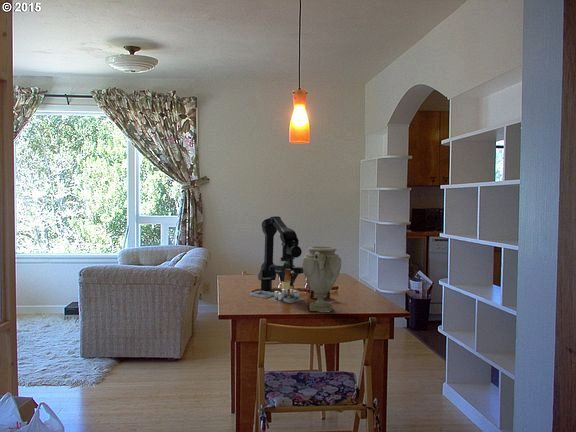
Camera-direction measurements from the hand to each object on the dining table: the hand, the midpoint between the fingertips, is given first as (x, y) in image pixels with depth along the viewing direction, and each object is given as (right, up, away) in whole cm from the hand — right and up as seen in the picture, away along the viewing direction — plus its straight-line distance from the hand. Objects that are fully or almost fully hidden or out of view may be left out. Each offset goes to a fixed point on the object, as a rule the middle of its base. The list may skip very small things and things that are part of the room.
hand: (287, 285), depth 286 cm
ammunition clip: (+17, -8, +5) cm, 19 cm away
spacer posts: (0, -8, 0) cm, 8 cm away
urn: (+16, -9, -19) cm, 26 cm away
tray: (-13, -7, +9) cm, 17 cm away
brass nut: (0, -1, 0) cm, 1 cm away
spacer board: (0, -8, 0) cm, 8 cm away
